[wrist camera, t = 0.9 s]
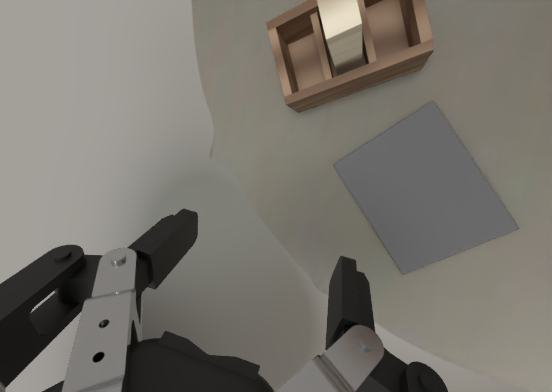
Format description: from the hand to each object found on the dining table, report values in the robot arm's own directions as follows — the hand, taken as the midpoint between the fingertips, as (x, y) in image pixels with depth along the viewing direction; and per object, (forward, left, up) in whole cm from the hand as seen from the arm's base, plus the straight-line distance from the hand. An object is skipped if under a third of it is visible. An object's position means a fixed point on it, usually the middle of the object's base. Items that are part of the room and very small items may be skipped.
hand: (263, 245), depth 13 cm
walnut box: (-18, -3, -24) cm, 30 cm away
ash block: (-18, -3, -23) cm, 30 cm away
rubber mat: (-3, +11, -24) cm, 27 cm away
